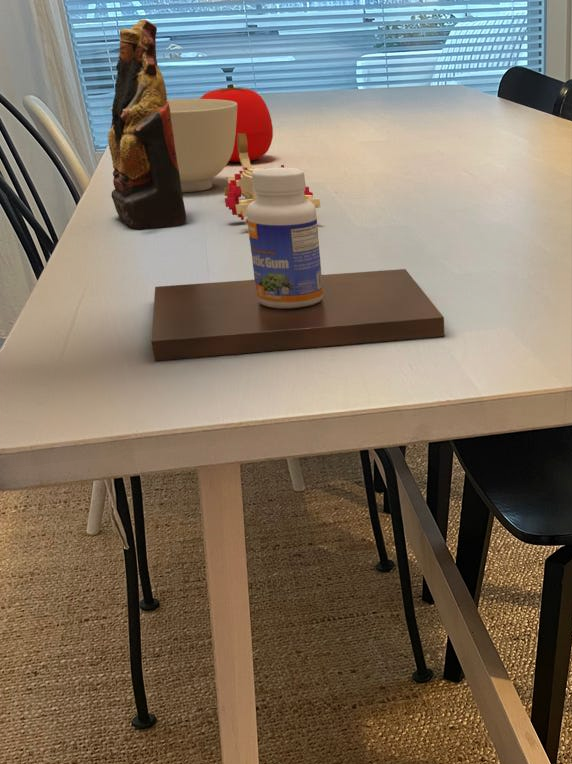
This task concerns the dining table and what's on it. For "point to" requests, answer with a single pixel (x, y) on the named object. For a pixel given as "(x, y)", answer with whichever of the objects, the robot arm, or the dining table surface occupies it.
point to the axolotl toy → (248, 184)
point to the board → (290, 316)
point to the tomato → (248, 119)
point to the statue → (143, 137)
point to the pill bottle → (284, 240)
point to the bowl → (202, 139)
